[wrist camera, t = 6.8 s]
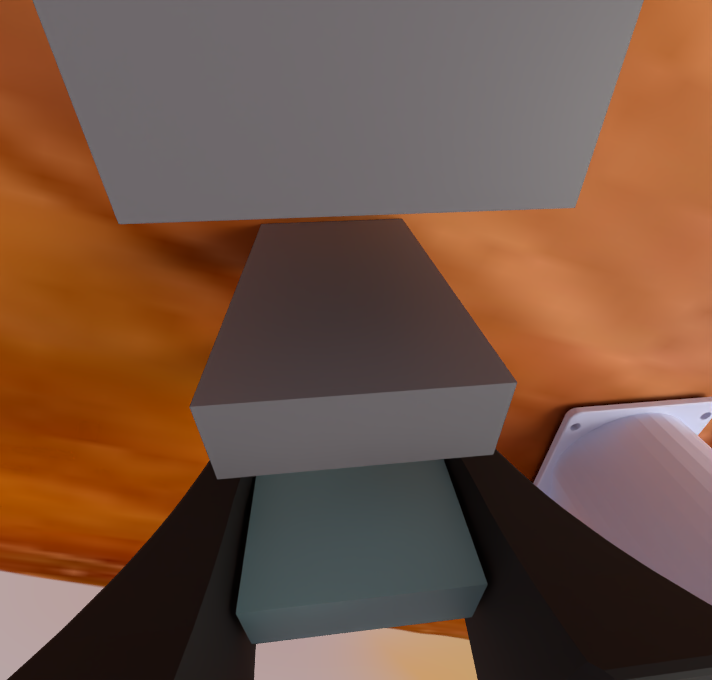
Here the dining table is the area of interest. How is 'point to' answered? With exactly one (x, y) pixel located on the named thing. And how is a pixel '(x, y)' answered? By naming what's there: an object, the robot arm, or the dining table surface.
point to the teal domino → (356, 552)
